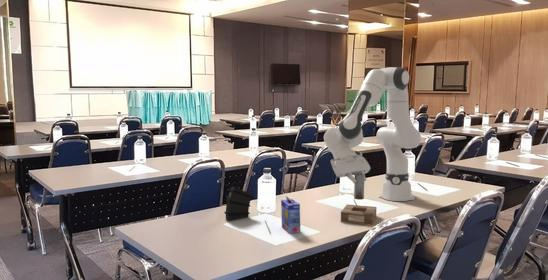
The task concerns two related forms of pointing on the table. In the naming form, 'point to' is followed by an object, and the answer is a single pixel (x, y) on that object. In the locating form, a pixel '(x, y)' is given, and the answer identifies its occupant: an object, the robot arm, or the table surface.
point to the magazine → (237, 204)
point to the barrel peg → (359, 187)
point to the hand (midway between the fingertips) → (360, 181)
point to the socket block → (358, 214)
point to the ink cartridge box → (290, 215)
